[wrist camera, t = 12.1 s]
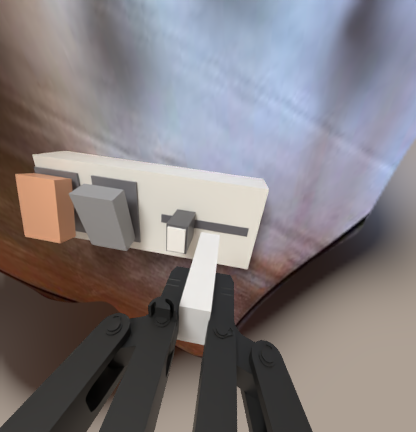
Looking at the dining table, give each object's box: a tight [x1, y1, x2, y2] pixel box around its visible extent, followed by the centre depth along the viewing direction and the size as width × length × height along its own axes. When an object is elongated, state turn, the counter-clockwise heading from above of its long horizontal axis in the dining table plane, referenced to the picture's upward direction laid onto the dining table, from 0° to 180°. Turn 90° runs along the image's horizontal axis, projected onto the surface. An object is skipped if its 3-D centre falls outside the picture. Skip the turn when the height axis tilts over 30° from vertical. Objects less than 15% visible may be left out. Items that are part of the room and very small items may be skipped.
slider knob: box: [166, 209, 196, 254], centre depth 22 cm, size 2×4×4 cm, turn 174°
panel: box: [32, 151, 269, 269], centre depth 27 cm, size 30×12×5 cm, turn 83°
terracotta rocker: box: [15, 173, 76, 243], centre depth 23 cm, size 5×8×2 cm, turn 173°
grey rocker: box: [69, 184, 136, 251], centre depth 23 cm, size 5×8×2 cm, turn 173°
